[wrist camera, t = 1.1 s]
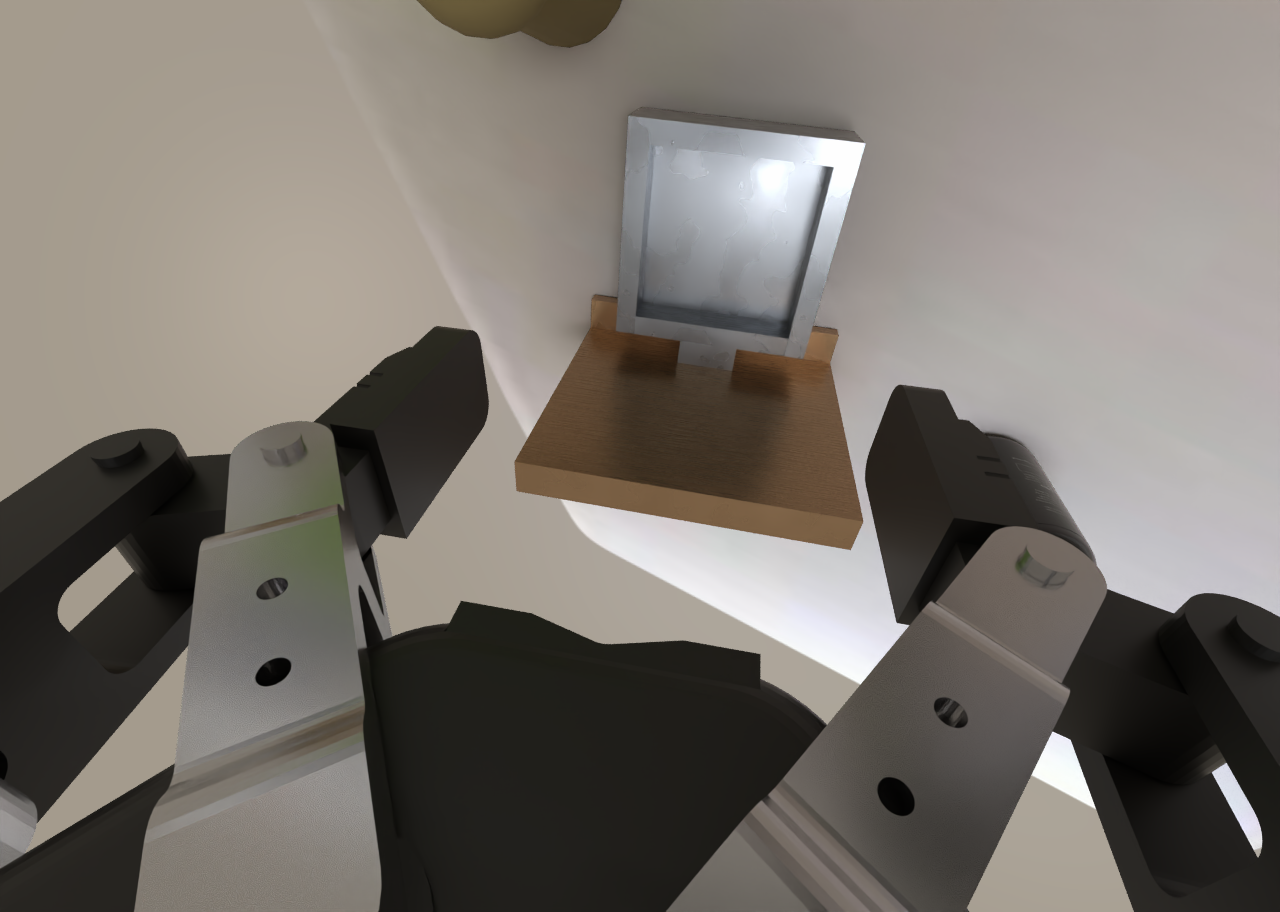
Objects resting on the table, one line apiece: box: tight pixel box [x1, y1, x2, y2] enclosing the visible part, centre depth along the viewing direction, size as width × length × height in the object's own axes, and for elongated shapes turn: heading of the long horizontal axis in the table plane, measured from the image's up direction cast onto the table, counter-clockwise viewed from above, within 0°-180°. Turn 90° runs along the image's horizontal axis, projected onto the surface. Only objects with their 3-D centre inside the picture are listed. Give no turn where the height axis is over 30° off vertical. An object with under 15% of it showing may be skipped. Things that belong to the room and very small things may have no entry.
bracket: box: [515, 107, 866, 550], centre depth 25 cm, size 15×14×14 cm
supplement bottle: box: [987, 436, 1097, 566], centre depth 31 cm, size 7×7×12 cm
